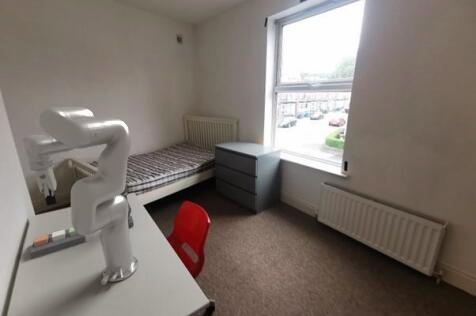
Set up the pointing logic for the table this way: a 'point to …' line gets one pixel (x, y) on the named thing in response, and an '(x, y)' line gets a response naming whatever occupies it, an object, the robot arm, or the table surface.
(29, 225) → the table surface
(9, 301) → the table surface
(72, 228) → the sage key
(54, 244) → the keypad
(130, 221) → the candle holder
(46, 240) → the terracotta key
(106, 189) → the robot arm
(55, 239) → the cream key
